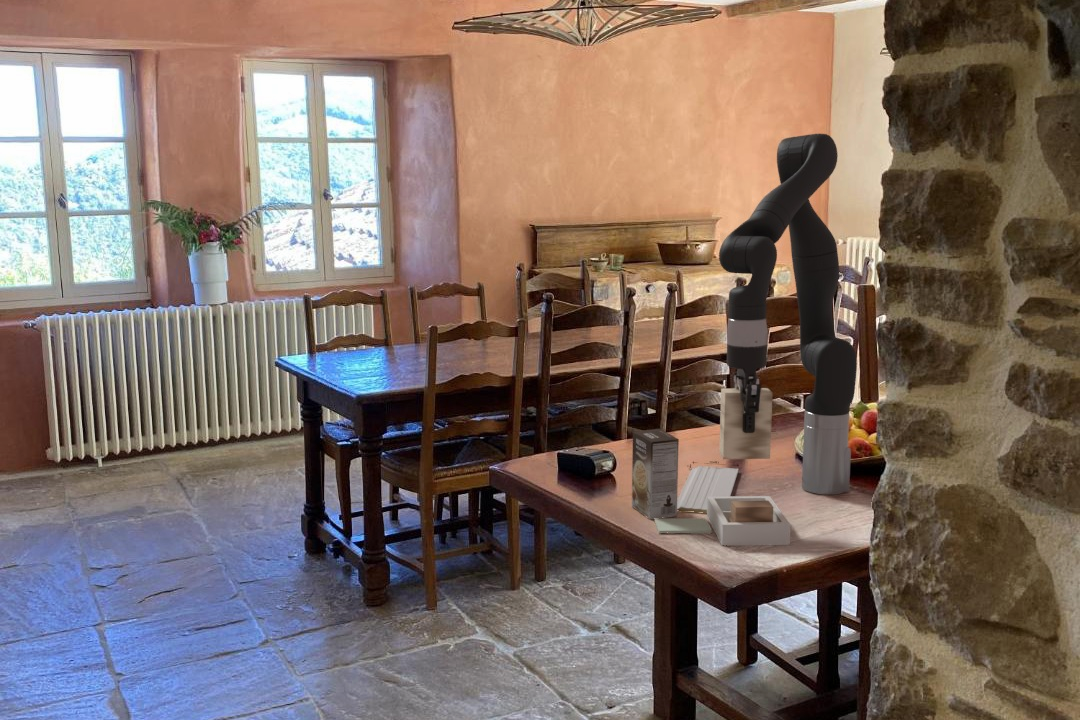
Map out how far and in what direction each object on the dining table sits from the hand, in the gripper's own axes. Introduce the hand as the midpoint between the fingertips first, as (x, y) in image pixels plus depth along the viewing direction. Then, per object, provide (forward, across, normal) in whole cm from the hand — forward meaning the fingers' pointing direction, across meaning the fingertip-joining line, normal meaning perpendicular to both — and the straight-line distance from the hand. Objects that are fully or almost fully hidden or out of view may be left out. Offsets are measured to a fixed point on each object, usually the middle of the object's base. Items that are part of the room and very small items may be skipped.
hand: (746, 429), depth 200 cm
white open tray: (+19, -5, +1) cm, 19 cm away
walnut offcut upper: (+15, -9, +1) cm, 18 cm away
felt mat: (+18, -3, +13) cm, 23 cm away
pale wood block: (+5, 0, 0) cm, 5 cm away
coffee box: (+19, +7, +17) cm, 26 cm away
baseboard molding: (+20, +21, +4) cm, 29 cm away
